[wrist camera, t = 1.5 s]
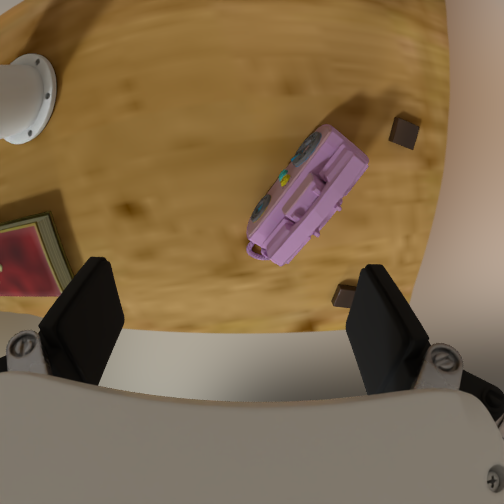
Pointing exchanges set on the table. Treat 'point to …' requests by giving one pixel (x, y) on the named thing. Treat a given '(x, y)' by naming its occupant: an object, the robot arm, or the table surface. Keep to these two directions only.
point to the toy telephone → (305, 195)
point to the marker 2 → (403, 133)
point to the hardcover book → (32, 258)
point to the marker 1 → (343, 296)
